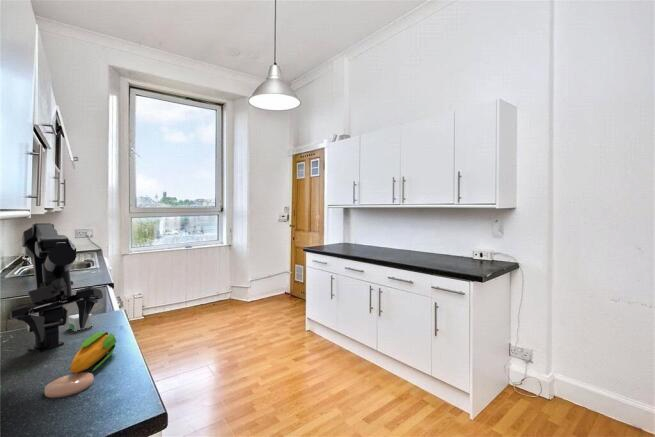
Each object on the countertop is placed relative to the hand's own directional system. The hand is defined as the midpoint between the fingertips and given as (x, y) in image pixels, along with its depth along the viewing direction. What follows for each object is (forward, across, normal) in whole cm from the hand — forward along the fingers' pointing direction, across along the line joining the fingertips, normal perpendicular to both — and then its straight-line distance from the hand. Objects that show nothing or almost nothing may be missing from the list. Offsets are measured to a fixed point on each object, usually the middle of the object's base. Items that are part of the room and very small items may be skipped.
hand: (62, 334), depth 82 cm
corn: (+10, +4, +6) cm, 12 cm away
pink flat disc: (+14, +3, -5) cm, 15 cm away
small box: (-8, -12, +37) cm, 40 cm away
